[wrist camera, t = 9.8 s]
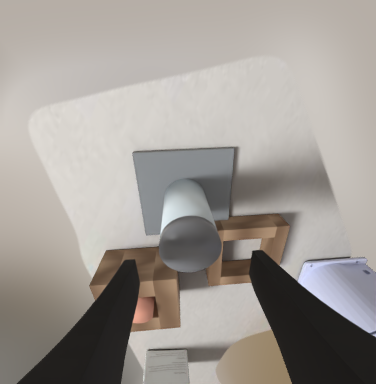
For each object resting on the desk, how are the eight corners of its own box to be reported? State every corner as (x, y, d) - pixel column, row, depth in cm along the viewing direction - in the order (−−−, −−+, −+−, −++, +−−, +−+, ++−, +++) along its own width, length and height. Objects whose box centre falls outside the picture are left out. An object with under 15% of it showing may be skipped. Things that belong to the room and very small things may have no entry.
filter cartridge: (203, 176, 19) (221, 220, 11) (205, 211, 21) (221, 268, 13) (161, 181, 19) (153, 228, 11) (167, 216, 20) (163, 275, 13)
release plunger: (155, 267, 24) (151, 304, 19) (158, 283, 25) (154, 322, 21) (131, 269, 24) (121, 307, 19) (135, 285, 25) (126, 324, 20)
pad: (232, 147, 18) (234, 148, 18) (226, 226, 22) (227, 229, 22) (133, 151, 18) (132, 153, 17) (146, 232, 22) (146, 235, 21)
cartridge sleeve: (278, 213, 22) (290, 225, 20) (266, 265, 26) (275, 280, 24) (206, 218, 22) (210, 231, 19) (205, 270, 26) (208, 286, 23)
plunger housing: (176, 245, 23) (176, 279, 19) (179, 290, 27) (180, 327, 23) (106, 250, 23) (89, 285, 18) (119, 295, 27) (108, 333, 22)
